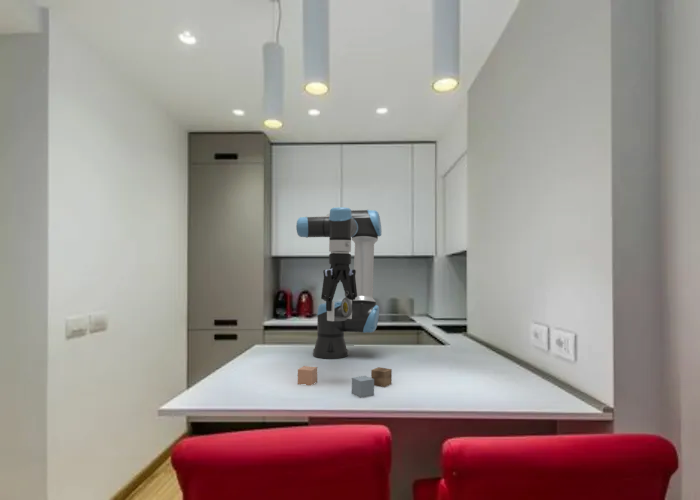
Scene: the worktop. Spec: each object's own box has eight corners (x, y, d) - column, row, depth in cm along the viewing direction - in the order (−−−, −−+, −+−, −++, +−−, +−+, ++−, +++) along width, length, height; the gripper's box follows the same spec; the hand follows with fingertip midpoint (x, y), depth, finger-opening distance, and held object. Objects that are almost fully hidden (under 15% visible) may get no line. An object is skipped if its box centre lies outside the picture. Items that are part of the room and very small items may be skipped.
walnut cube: (371, 385, 150) (371, 370, 150) (378, 381, 154) (378, 367, 154) (384, 387, 147) (384, 372, 147) (391, 384, 151) (391, 369, 151)
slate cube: (351, 393, 140) (351, 377, 140) (364, 391, 142) (365, 375, 142) (360, 398, 135) (360, 381, 135) (374, 395, 138) (374, 379, 138)
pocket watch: (323, 321, 152) (323, 291, 152) (336, 318, 159) (336, 289, 159) (345, 322, 148) (345, 292, 148) (356, 319, 155) (356, 290, 156)
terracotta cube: (297, 384, 150) (297, 369, 150) (303, 380, 155) (303, 366, 155) (311, 385, 148) (311, 370, 148) (317, 382, 153) (317, 367, 153)
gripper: (326, 252, 144) (325, 323, 143) (368, 253, 159) (367, 318, 158) (310, 252, 149) (309, 321, 148) (352, 253, 164) (351, 316, 163)
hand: (339, 319), depth 153 cm, fingers closed on pocket watch, 8 cm apart
